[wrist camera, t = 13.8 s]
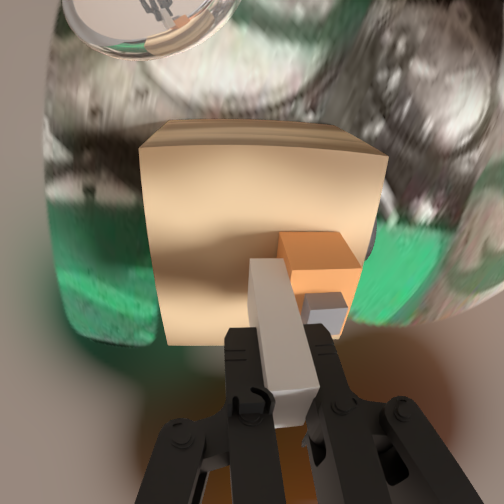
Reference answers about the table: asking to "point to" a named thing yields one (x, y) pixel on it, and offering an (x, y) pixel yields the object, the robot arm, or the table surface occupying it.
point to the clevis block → (245, 209)
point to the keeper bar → (320, 276)
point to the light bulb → (146, 25)
